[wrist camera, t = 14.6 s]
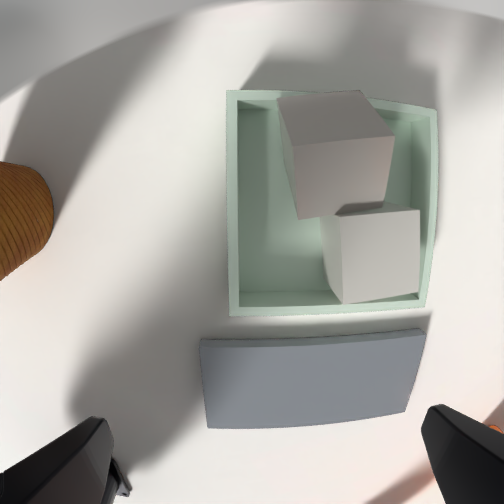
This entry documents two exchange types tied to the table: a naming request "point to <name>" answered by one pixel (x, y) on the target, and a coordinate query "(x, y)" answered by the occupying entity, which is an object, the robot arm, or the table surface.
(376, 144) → the grey stone cube
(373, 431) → the table surface
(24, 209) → the disposable coffee cup
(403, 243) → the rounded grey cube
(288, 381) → the slate board
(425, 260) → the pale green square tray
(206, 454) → the table surface
